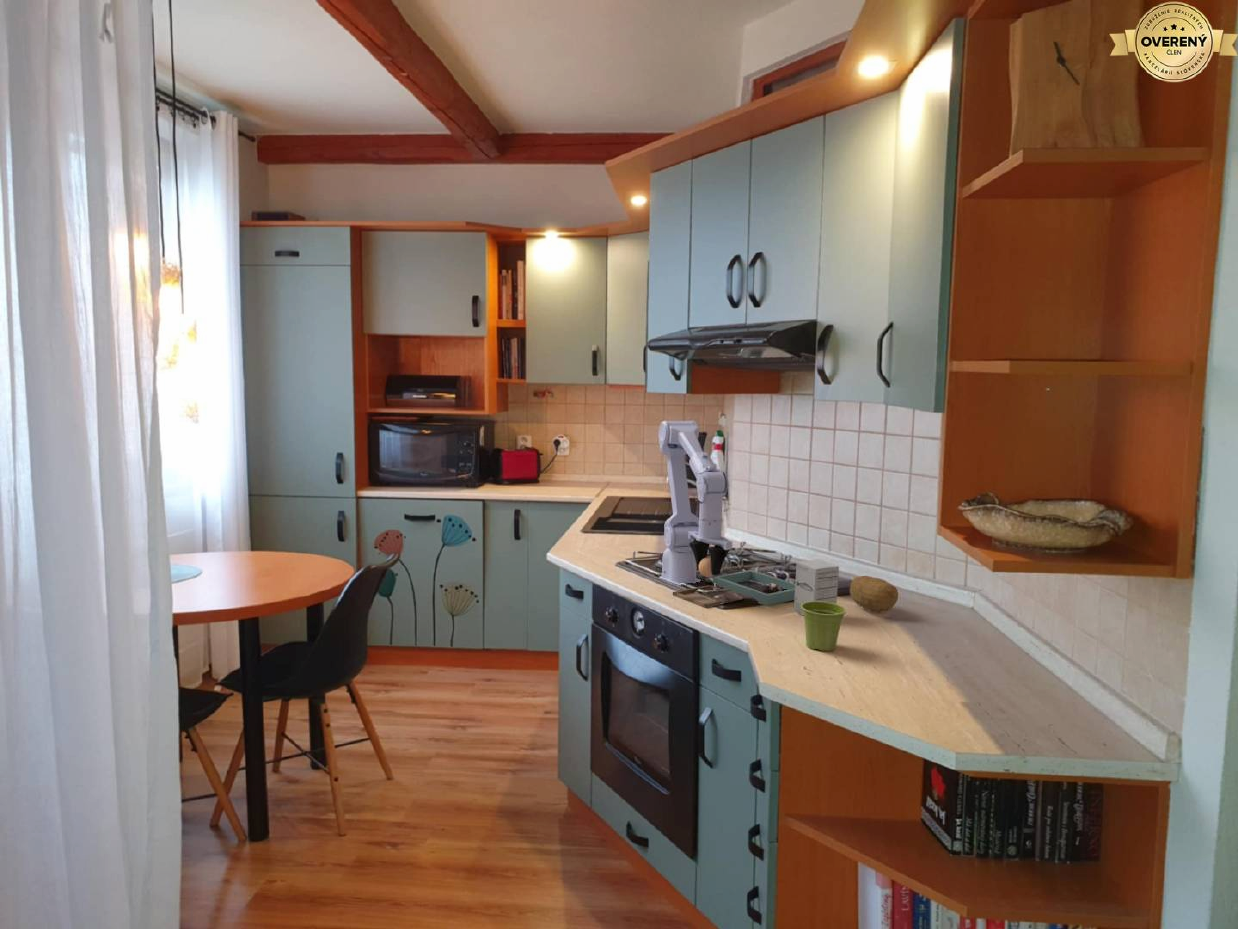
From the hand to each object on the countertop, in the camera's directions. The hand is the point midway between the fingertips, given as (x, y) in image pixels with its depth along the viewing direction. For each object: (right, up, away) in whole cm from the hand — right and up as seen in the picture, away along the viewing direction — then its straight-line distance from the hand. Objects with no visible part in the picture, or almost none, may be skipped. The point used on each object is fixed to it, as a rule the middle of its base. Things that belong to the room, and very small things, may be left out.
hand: (708, 571), depth 208 cm
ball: (0, -1, 0) cm, 1 cm away
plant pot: (+21, -12, -32) cm, 40 cm away
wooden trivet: (0, -7, +1) cm, 7 cm away
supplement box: (+25, -9, -10) cm, 28 cm away
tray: (+14, -7, +7) cm, 17 cm away
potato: (+40, -9, -5) cm, 41 cm away
